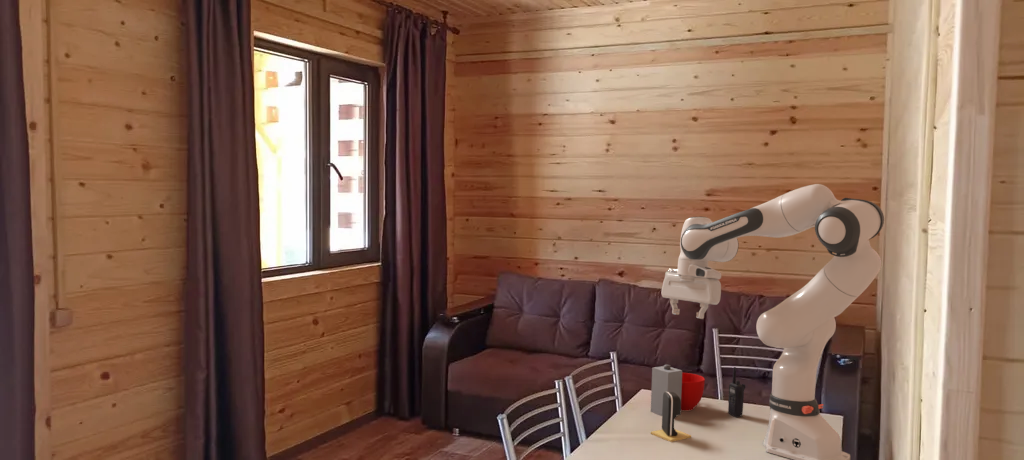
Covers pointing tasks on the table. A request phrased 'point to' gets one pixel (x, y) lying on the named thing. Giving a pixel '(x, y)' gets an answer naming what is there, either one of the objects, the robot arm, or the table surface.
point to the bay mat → (679, 436)
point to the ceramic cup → (691, 390)
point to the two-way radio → (736, 396)
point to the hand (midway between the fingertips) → (687, 316)
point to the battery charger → (670, 412)
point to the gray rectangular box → (664, 385)
